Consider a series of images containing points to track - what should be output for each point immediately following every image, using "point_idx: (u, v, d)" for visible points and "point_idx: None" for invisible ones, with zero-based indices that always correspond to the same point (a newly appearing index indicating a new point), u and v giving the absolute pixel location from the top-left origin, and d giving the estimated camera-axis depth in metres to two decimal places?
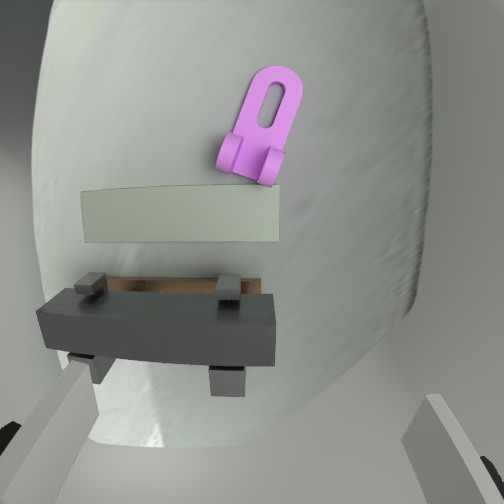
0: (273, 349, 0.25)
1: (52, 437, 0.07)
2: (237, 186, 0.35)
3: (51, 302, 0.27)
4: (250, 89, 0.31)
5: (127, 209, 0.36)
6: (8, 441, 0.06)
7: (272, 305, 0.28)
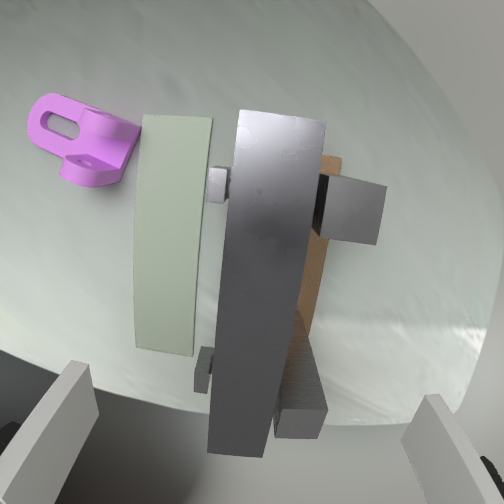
0: (289, 118, 0.14)
1: (52, 437, 0.07)
2: (139, 163, 0.27)
3: None
4: (44, 147, 0.26)
5: (156, 298, 0.31)
6: (8, 441, 0.06)
7: None
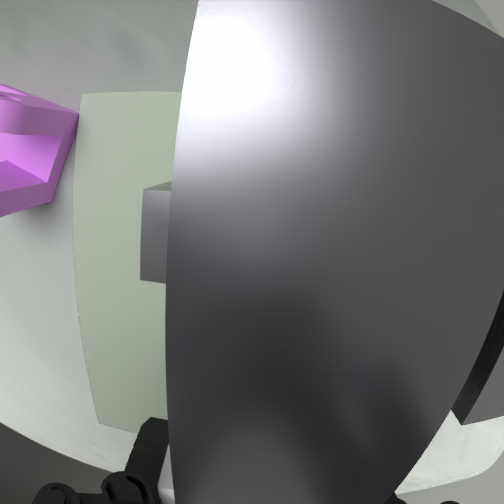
0: (427, 7, 0.02)
1: None
2: (76, 172, 0.16)
3: None
4: None
5: (116, 371, 0.20)
6: (155, 437, 0.08)
7: None
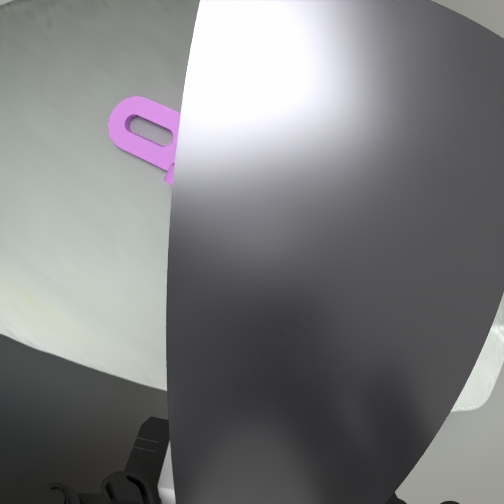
0: (428, 8, 0.02)
1: None
2: None
3: None
4: (130, 151, 0.29)
5: None
6: (155, 437, 0.08)
7: None
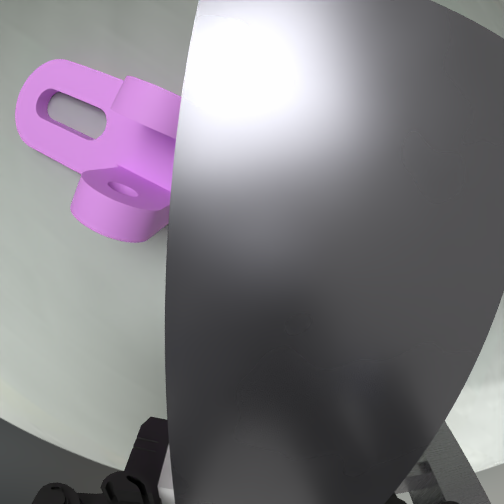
0: (427, 7, 0.02)
1: None
2: None
3: None
4: (42, 150, 0.15)
5: None
6: (155, 437, 0.08)
7: None
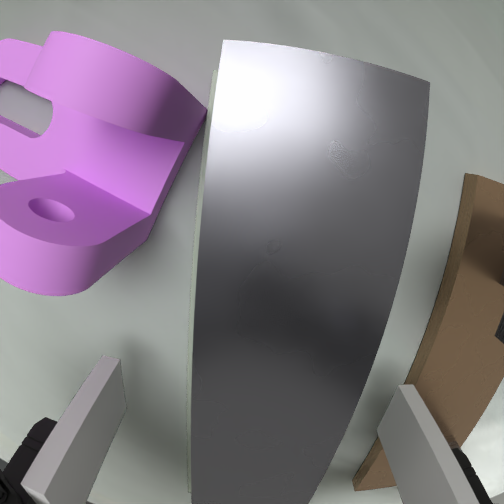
0: (349, 64, 0.05)
1: (88, 431, 0.08)
2: (203, 191, 0.12)
3: None
4: None
5: None
6: (42, 437, 0.07)
7: None
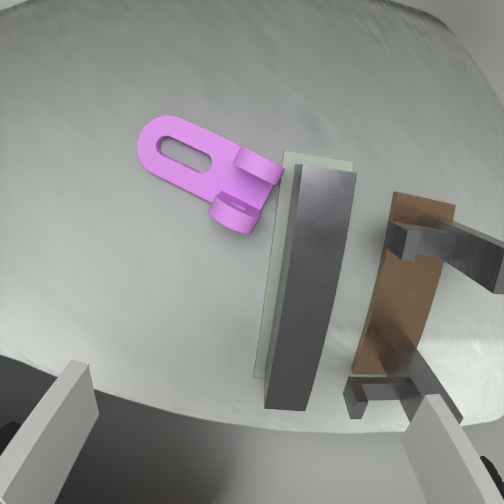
0: (334, 171, 0.22)
1: (52, 437, 0.07)
2: (280, 201, 0.29)
3: (264, 390, 0.30)
4: (162, 176, 0.28)
5: None
6: (8, 441, 0.06)
7: (297, 165, 0.26)
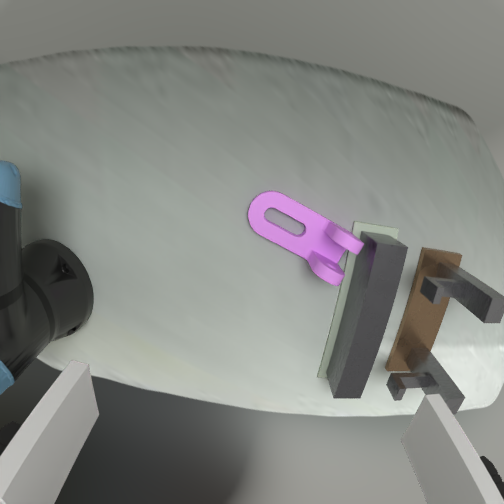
0: (395, 246, 0.34)
1: (52, 437, 0.07)
2: (349, 256, 0.41)
3: (331, 385, 0.42)
4: (268, 238, 0.39)
5: None
6: (8, 441, 0.06)
7: (367, 236, 0.37)
